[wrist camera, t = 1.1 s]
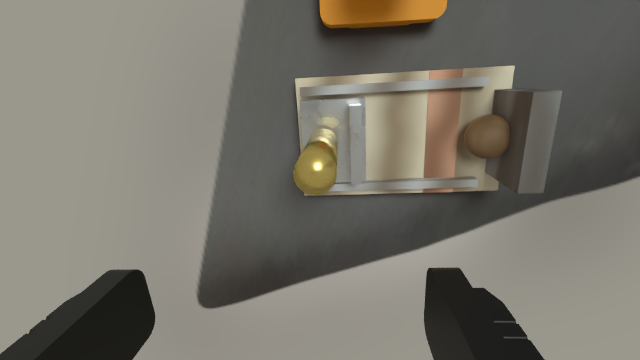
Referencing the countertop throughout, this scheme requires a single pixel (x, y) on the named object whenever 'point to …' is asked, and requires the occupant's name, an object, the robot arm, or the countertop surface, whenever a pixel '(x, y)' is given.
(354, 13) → the bracket
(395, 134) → the board
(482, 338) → the robot arm
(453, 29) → the countertop surface
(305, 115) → the handle
